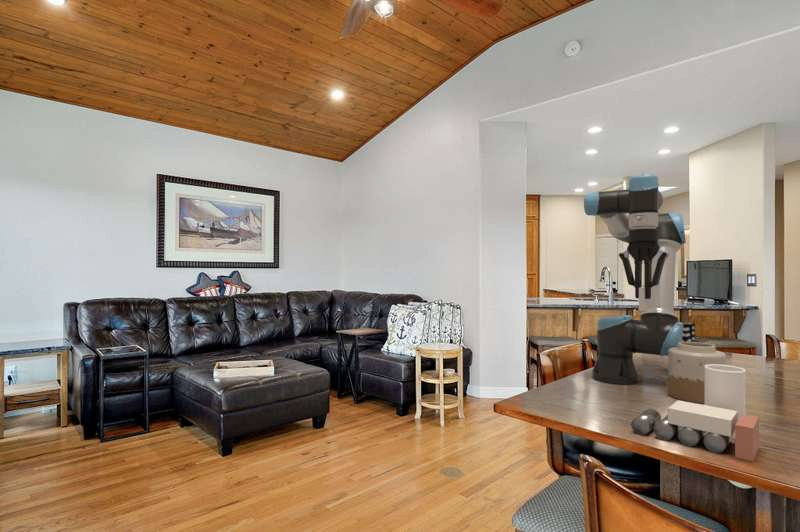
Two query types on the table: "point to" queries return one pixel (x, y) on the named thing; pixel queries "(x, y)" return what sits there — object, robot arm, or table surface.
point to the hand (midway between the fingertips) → (643, 310)
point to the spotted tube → (688, 332)
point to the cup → (726, 388)
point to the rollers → (685, 435)
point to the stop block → (747, 437)
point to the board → (703, 417)
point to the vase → (691, 369)
